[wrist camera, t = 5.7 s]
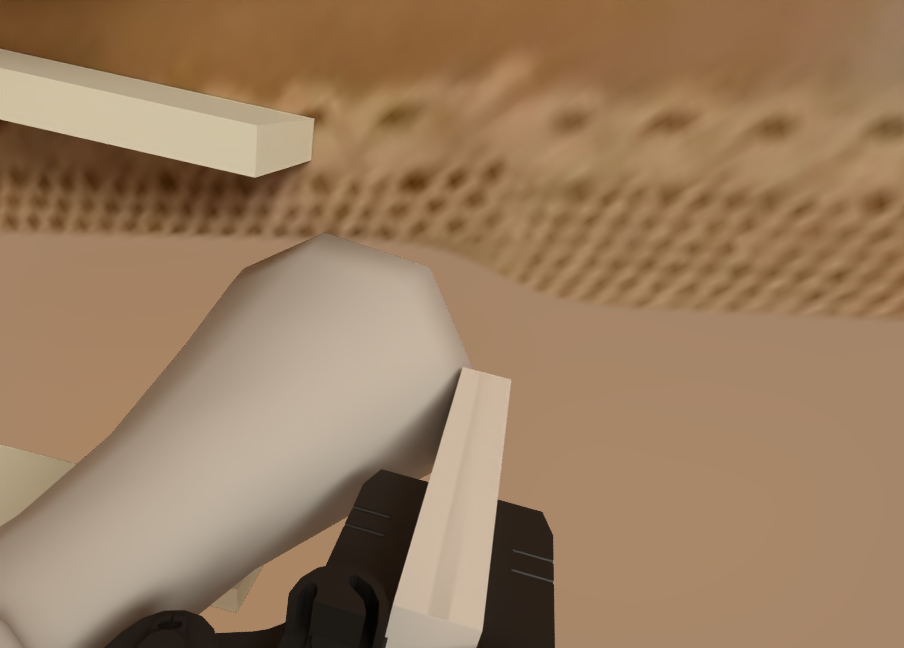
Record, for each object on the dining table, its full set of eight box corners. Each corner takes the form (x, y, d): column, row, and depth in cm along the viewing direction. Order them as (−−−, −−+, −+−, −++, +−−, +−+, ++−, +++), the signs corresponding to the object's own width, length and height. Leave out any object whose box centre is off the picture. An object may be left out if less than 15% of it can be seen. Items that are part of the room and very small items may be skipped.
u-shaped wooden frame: (279, 537, 19) (236, 612, 16) (-93, 441, 19) (-194, 498, 17) (314, 118, 13) (256, 125, 10) (-215, 1, 14) (-402, -23, 11)
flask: (269, 458, 17) (-126, 818, 8) (216, 234, 15) (-415, 409, 6) (487, 487, 15) (253, 1034, 6) (466, 225, 12) (25, 494, 4)
